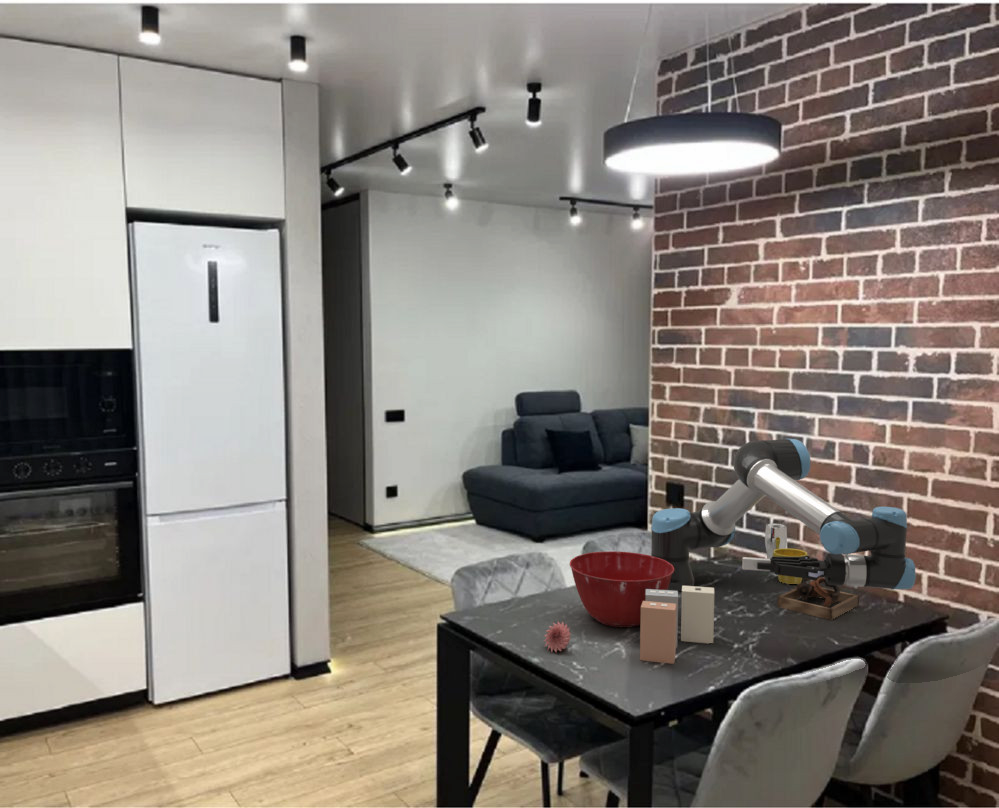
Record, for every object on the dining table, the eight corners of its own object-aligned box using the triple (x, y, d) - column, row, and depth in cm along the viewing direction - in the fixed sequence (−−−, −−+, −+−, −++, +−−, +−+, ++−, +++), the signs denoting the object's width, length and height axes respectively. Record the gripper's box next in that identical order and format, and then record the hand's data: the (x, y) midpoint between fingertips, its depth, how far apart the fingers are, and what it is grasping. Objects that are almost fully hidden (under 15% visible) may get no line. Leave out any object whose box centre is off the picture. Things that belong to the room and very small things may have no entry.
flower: (567, 619, 205) (555, 612, 201) (584, 641, 199) (572, 633, 195) (545, 641, 205) (533, 634, 202) (561, 664, 199) (550, 657, 196)
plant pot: (765, 578, 261) (766, 548, 261) (794, 576, 264) (795, 546, 263) (784, 587, 251) (785, 557, 251) (813, 585, 254) (814, 555, 253)
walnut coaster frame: (777, 606, 233) (777, 596, 233) (805, 593, 246) (805, 583, 246) (832, 620, 222) (832, 609, 222) (858, 605, 234) (859, 595, 234)
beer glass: (783, 573, 267) (784, 528, 266) (761, 570, 271) (763, 526, 270) (788, 568, 273) (789, 525, 272) (767, 565, 277) (768, 522, 275)
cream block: (680, 641, 206) (681, 590, 205) (681, 634, 211) (682, 584, 210) (713, 643, 204) (714, 592, 203) (712, 636, 209) (714, 587, 208)
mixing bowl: (692, 618, 223) (693, 563, 222) (635, 646, 203) (636, 586, 201) (608, 596, 243) (609, 545, 241) (548, 619, 222) (548, 564, 221)
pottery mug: (823, 597, 244) (836, 577, 240) (833, 620, 236) (847, 600, 232) (786, 588, 242) (799, 568, 238) (796, 611, 234) (809, 591, 230)
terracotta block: (639, 660, 194) (640, 606, 193) (642, 652, 199) (643, 599, 198) (673, 663, 192) (674, 609, 191) (675, 656, 196) (676, 602, 195)
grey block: (644, 645, 203) (645, 594, 202) (644, 638, 208) (645, 588, 207) (677, 647, 202) (678, 596, 201) (676, 640, 207) (677, 590, 206)
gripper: (848, 593, 190) (744, 586, 195) (837, 577, 203) (739, 570, 207) (850, 562, 189) (745, 555, 194) (839, 547, 202) (741, 541, 207)
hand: (742, 563), depth 201 cm, fingers closed
